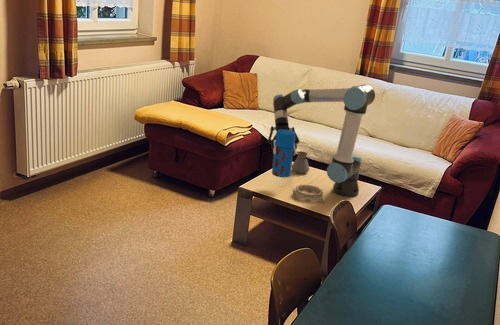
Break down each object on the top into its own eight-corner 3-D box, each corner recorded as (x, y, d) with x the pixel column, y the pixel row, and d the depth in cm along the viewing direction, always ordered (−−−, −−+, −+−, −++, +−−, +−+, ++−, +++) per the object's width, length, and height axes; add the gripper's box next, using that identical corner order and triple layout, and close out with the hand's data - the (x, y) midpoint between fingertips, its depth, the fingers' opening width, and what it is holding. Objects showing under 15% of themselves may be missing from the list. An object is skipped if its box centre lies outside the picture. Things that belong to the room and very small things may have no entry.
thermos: (281, 169, 285) (286, 128, 277) (294, 175, 278) (299, 133, 270) (267, 172, 278) (272, 130, 271) (280, 178, 271) (285, 135, 263)
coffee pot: (289, 168, 319) (292, 146, 314) (307, 169, 320) (310, 147, 315) (294, 179, 298) (297, 156, 294) (313, 181, 300) (316, 158, 295)
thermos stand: (321, 192, 283) (322, 186, 282) (324, 203, 268) (325, 196, 267) (293, 189, 283) (294, 183, 282) (295, 199, 268) (296, 193, 267)
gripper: (299, 123, 286) (302, 157, 277) (260, 122, 282) (263, 156, 272) (302, 117, 280) (306, 151, 270) (263, 115, 275) (266, 150, 266)
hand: (284, 153), depth 271 cm, fingers closed on thermos, 11 cm apart
